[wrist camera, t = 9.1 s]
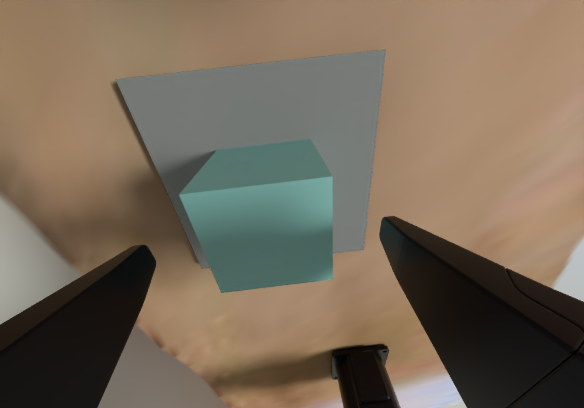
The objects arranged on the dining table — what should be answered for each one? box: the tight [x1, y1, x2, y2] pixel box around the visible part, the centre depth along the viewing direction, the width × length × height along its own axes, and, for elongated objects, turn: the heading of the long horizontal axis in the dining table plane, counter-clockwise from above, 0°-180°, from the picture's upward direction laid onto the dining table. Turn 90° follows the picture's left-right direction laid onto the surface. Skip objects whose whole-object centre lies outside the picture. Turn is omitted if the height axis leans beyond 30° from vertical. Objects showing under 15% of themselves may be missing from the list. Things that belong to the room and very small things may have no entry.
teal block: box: [179, 139, 333, 293], centre depth 10 cm, size 5×5×5 cm
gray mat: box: [115, 49, 386, 269], centre depth 13 cm, size 12×12×1 cm
